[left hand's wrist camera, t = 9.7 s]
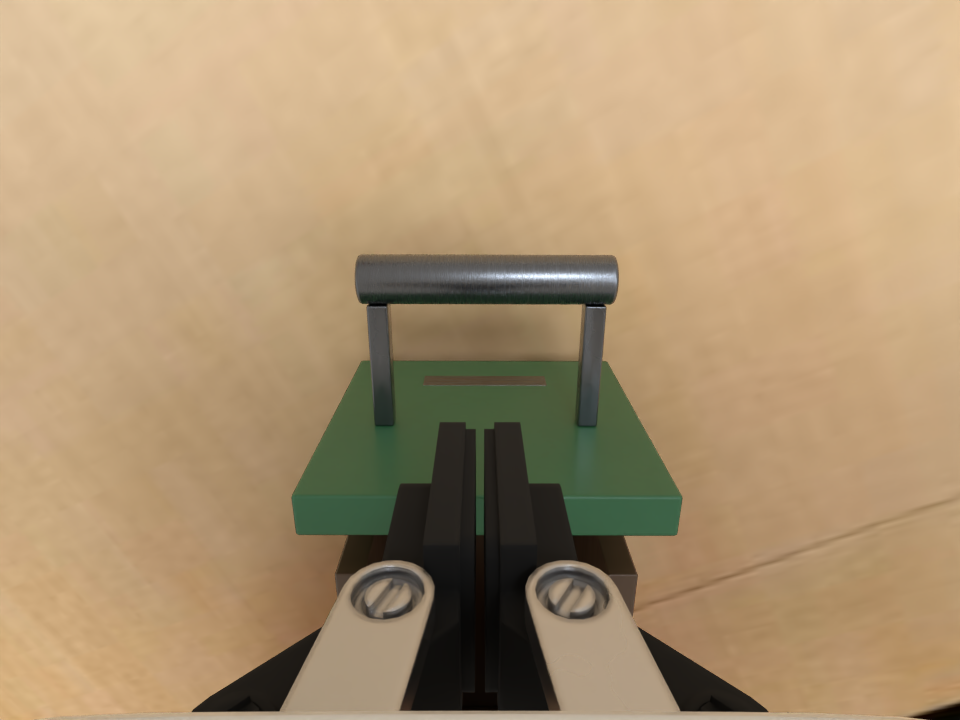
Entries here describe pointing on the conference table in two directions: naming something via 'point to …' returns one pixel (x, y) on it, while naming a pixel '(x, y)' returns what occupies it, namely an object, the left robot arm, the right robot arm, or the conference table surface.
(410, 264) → the drawer
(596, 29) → the conference table surface
